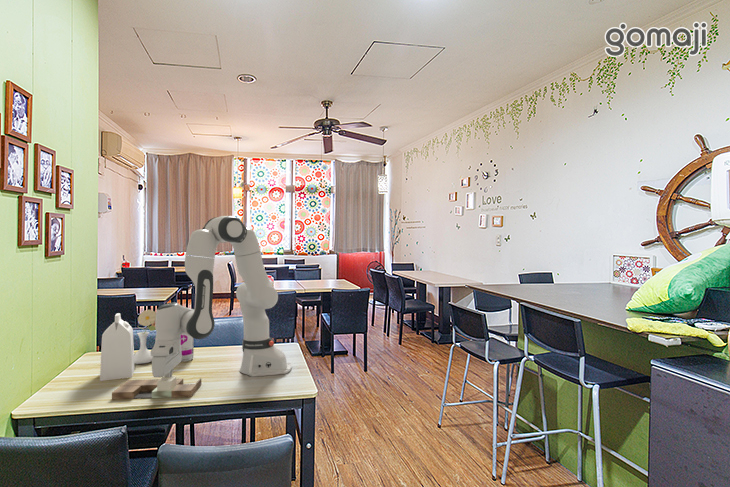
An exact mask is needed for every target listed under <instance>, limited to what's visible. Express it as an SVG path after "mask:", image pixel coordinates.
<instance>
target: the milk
mask: <svg viewBox="0 0 730 487" xmlns="http://www.w3.org/2000/svg"><path fill="white" fill-rule="evenodd" d="M134 342H135V341H134V329H133V327H132V326H131V325H130V324H129V322H128V321H126V320H125V321H124V320H123V319H122V317H121V313H120V312H118V313H115V315H114V322H112V324H110V325H109V326H108V327H107V328H106V329H105V330H104V331H103V333H102V335H101V346H100V347H101V349H100V371H99V372H100V373H99V381H100V382H103V381H110V380H111V381H112V380H120V379H121V378H122V379H127V378H126V377H130V378H133V375H134V372H135V366H136V364H134V354H135V348H134Z"/></svg>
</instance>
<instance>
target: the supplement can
mask: <svg viewBox="0 0 730 487" xmlns="http://www.w3.org/2000/svg"><path fill="white" fill-rule="evenodd" d="M181 352H182V360H181V362H180V363H183V362H185V363H186V362H190V361H192V360H193V359H194V338H193V337H191V336H190V335H189V334H186V333H183V334H181Z"/></svg>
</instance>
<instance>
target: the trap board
mask: <svg viewBox="0 0 730 487" xmlns="http://www.w3.org/2000/svg"><path fill="white" fill-rule="evenodd" d="M160 379H161V378H157V379H156V378H155V379H154V378H153V379H151V378H150V379H149V378H148V379H128V380H126V381H125V382H124V383H122V384H121V385H120V386H119V387H117V388H116V389H114V391H112V392H111V400H131V399H137V398H141V399H169V398H192V397H193V395H194V394H195V393H196V392H197V391H198V389H199V388H201V386H202V378H201V377H200V378H199V379H198V380H197V381H196V382H195V383H184V378H176V386H175V387H174V388H173V389H172V390H171V391H157V381H158V380H160Z"/></svg>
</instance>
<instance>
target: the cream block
mask: <svg viewBox="0 0 730 487" xmlns="http://www.w3.org/2000/svg"><path fill="white" fill-rule="evenodd" d="M159 379H160V380H158V381H157V391H171V390H172V389H173V388H174V387H175V386H176V379H177V376H172V377H160V378H159Z"/></svg>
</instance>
